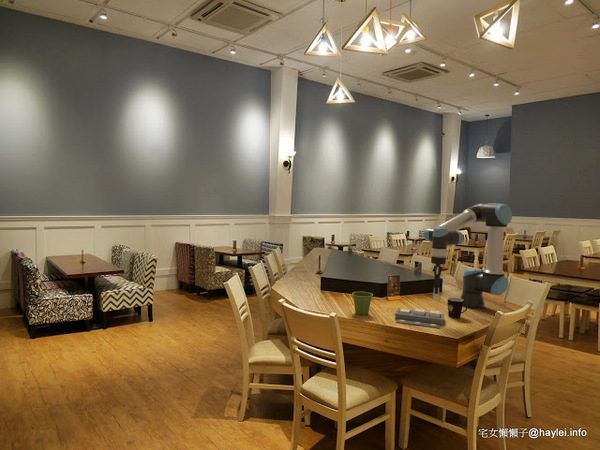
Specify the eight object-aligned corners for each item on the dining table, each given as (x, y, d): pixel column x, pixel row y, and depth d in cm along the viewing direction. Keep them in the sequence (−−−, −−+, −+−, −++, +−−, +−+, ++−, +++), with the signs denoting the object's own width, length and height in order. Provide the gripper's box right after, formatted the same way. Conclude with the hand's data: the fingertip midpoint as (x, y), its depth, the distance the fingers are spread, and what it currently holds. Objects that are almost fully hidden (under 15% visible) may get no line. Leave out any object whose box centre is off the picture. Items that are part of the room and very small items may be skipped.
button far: (409, 314, 242) (410, 309, 241) (408, 316, 237) (409, 312, 237) (400, 312, 243) (401, 308, 243) (399, 315, 239) (399, 310, 239)
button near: (440, 315, 236) (440, 311, 236) (439, 318, 231) (439, 313, 231) (430, 314, 238) (430, 310, 238) (429, 317, 233) (430, 312, 233)
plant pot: (355, 309, 253) (356, 290, 252) (375, 312, 247) (376, 293, 246) (347, 314, 243) (348, 294, 242) (367, 317, 237) (368, 297, 236)
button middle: (424, 313, 239) (425, 309, 239) (424, 316, 234) (424, 312, 234) (415, 312, 241) (415, 308, 240) (414, 315, 236) (414, 310, 236)
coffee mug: (443, 314, 249) (444, 297, 248) (458, 314, 249) (459, 297, 249) (452, 320, 237) (453, 302, 236) (467, 320, 238) (468, 302, 237)
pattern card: (439, 325, 228) (439, 324, 228) (439, 328, 222) (439, 327, 222) (397, 319, 235) (397, 318, 235) (396, 322, 230) (396, 321, 230)
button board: (443, 319, 239) (444, 314, 239) (442, 325, 228) (443, 319, 227) (398, 313, 247) (398, 308, 247) (394, 318, 236) (395, 313, 236)
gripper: (432, 254, 239) (429, 296, 241) (430, 257, 227) (427, 301, 229) (446, 255, 237) (443, 297, 238) (445, 258, 224) (442, 303, 226)
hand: (435, 299), depth 234 cm, fingers closed
